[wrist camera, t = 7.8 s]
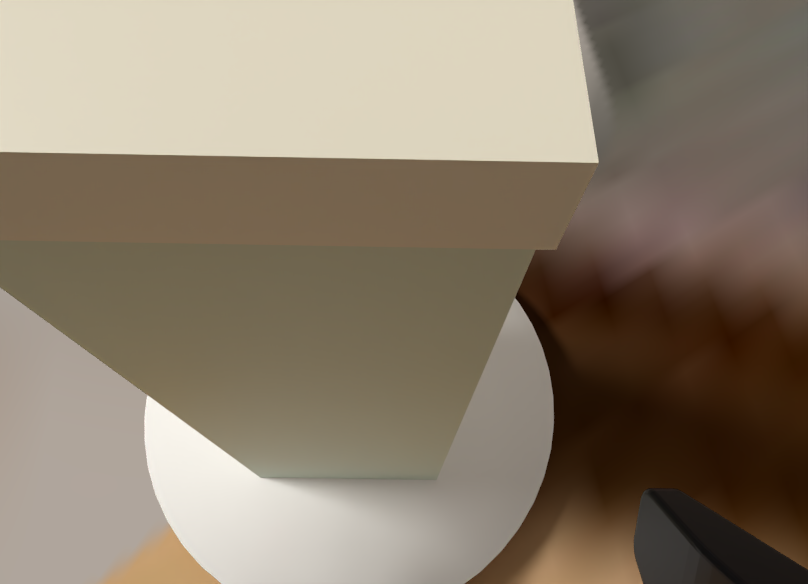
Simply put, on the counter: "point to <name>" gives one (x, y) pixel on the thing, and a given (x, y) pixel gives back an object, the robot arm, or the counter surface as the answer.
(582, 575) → the counter surface
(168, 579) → the counter surface
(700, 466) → the counter surface
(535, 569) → the counter surface
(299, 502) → the plinth
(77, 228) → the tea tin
